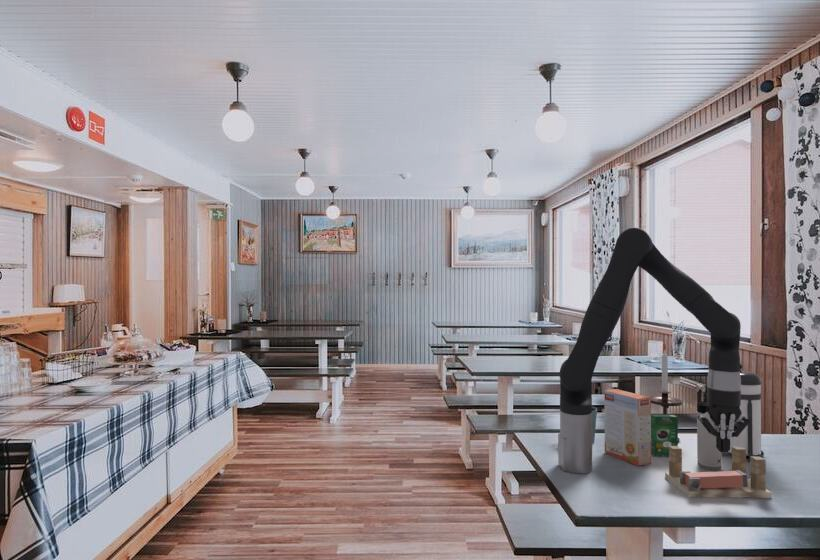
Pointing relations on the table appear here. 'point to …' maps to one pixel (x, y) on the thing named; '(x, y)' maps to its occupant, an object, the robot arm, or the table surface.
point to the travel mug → (706, 443)
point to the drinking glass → (593, 422)
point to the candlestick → (665, 389)
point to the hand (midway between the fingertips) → (723, 451)
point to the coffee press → (750, 415)
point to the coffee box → (663, 434)
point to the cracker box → (628, 426)
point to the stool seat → (738, 463)
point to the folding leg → (719, 479)
